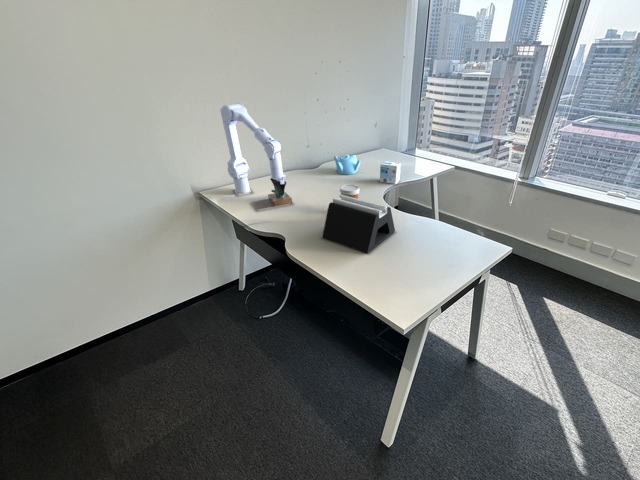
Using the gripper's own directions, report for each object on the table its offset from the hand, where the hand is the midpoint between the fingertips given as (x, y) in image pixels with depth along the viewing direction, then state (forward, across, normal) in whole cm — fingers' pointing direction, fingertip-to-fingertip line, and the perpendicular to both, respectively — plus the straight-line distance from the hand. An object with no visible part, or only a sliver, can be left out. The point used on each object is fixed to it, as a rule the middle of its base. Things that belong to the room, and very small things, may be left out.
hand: (280, 193), depth 167 cm
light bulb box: (+5, 0, -68) cm, 68 cm away
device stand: (+5, -52, -18) cm, 55 cm away
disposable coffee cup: (+5, -28, -26) cm, 38 cm away
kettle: (+1, 0, 0) cm, 1 cm away
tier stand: (+4, 0, +5) cm, 7 cm away
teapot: (+5, +28, -53) cm, 60 cm away
